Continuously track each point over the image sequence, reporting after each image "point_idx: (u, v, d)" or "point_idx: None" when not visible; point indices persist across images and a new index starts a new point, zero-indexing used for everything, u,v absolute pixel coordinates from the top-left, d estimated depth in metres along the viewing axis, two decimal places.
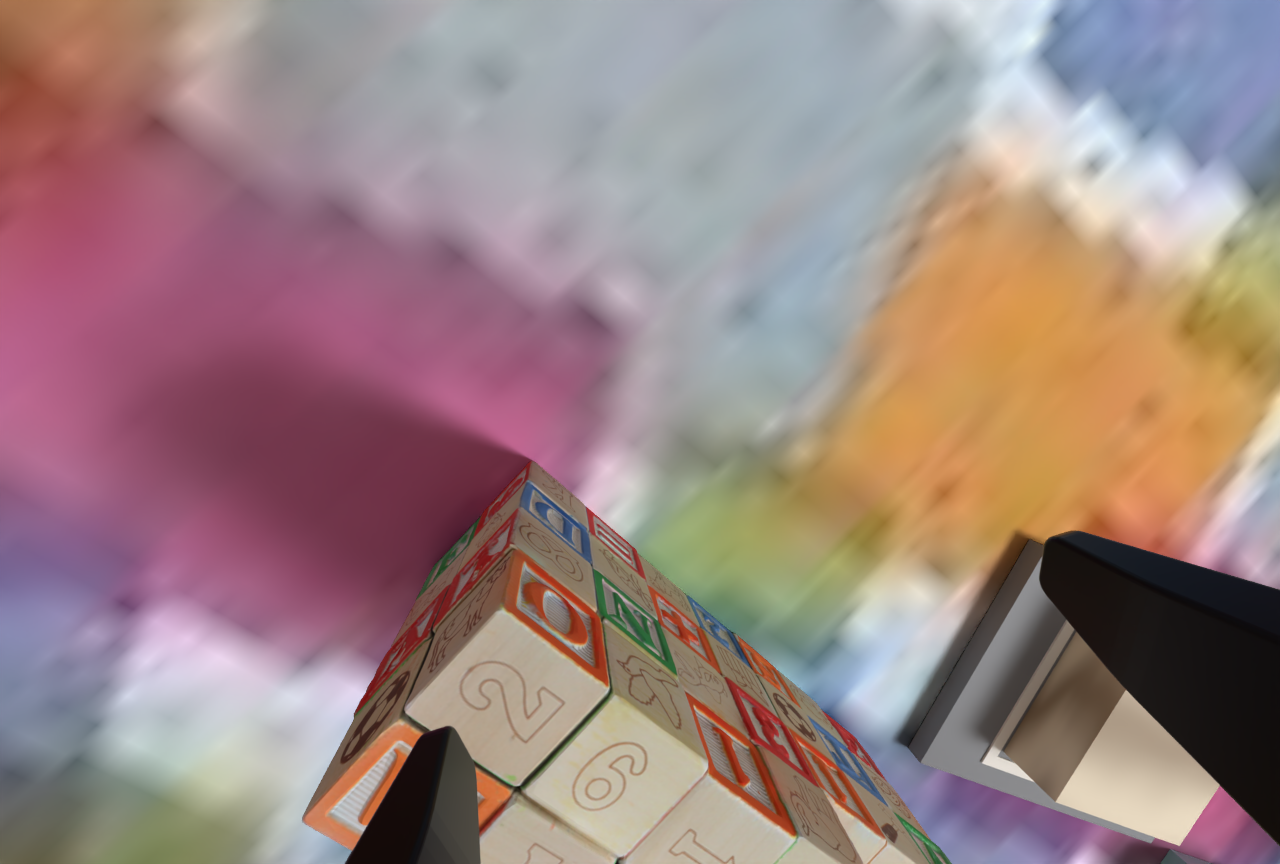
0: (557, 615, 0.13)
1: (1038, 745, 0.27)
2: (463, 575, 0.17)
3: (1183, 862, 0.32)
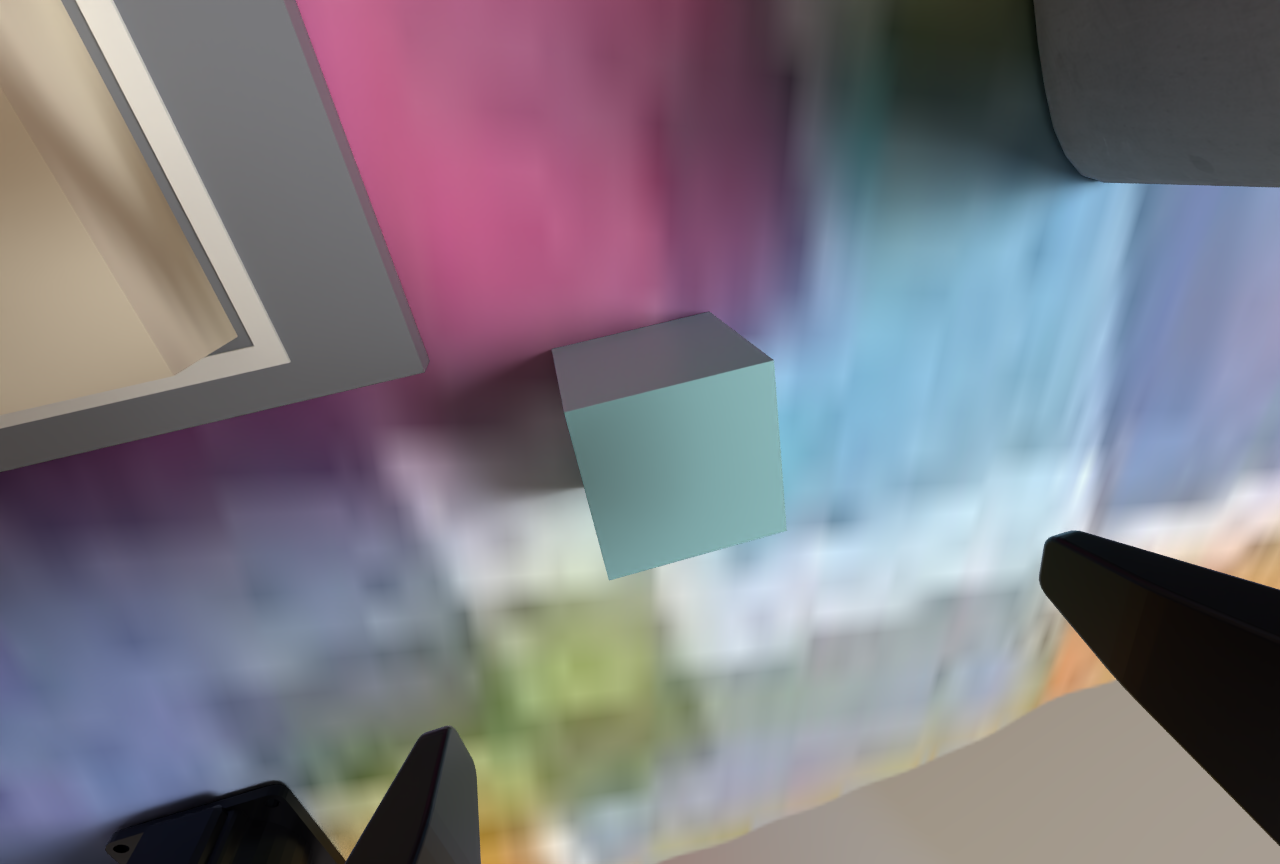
0: None
1: None
2: None
3: (554, 359, 0.16)
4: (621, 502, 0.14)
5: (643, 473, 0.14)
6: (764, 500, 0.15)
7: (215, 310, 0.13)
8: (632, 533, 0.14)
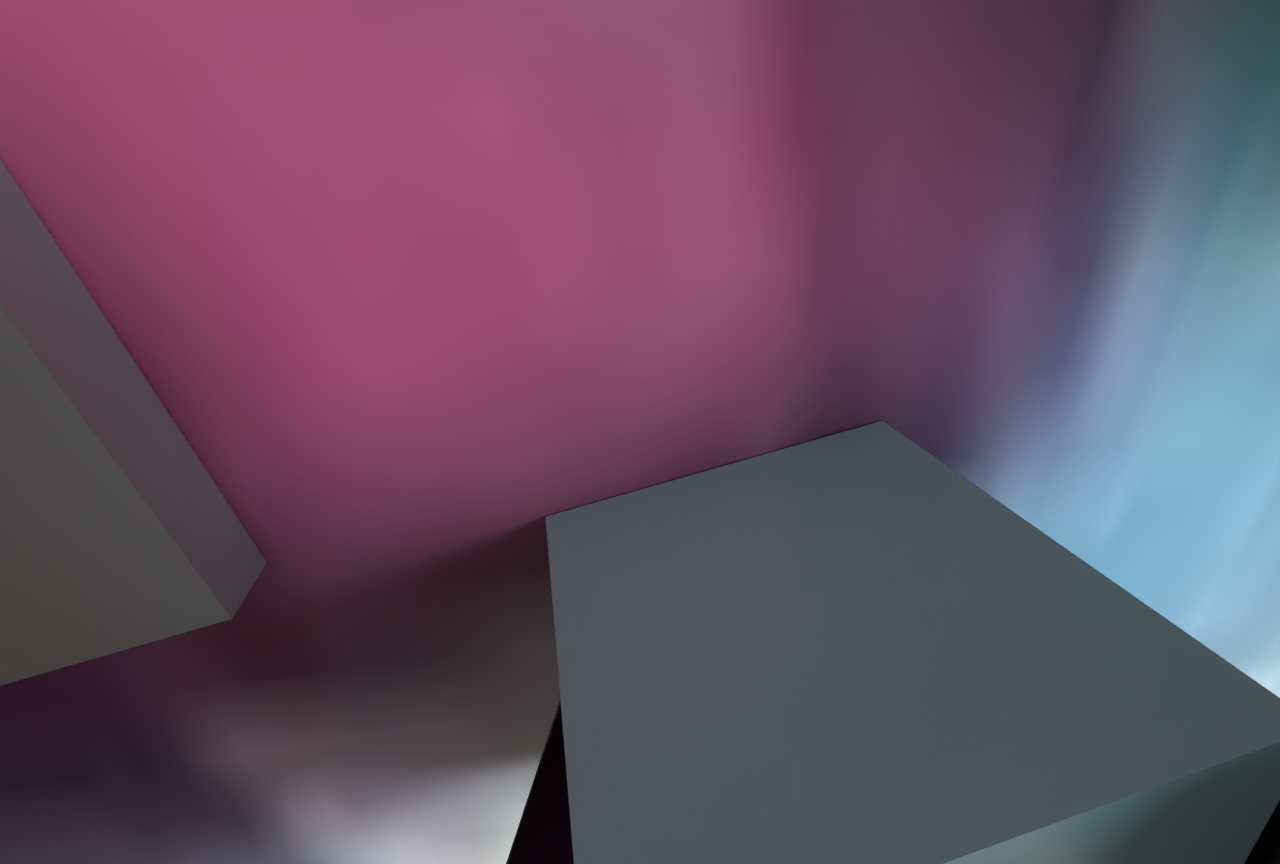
0: None
1: None
2: None
3: (551, 559, 0.07)
4: None
5: None
6: None
7: None
8: None
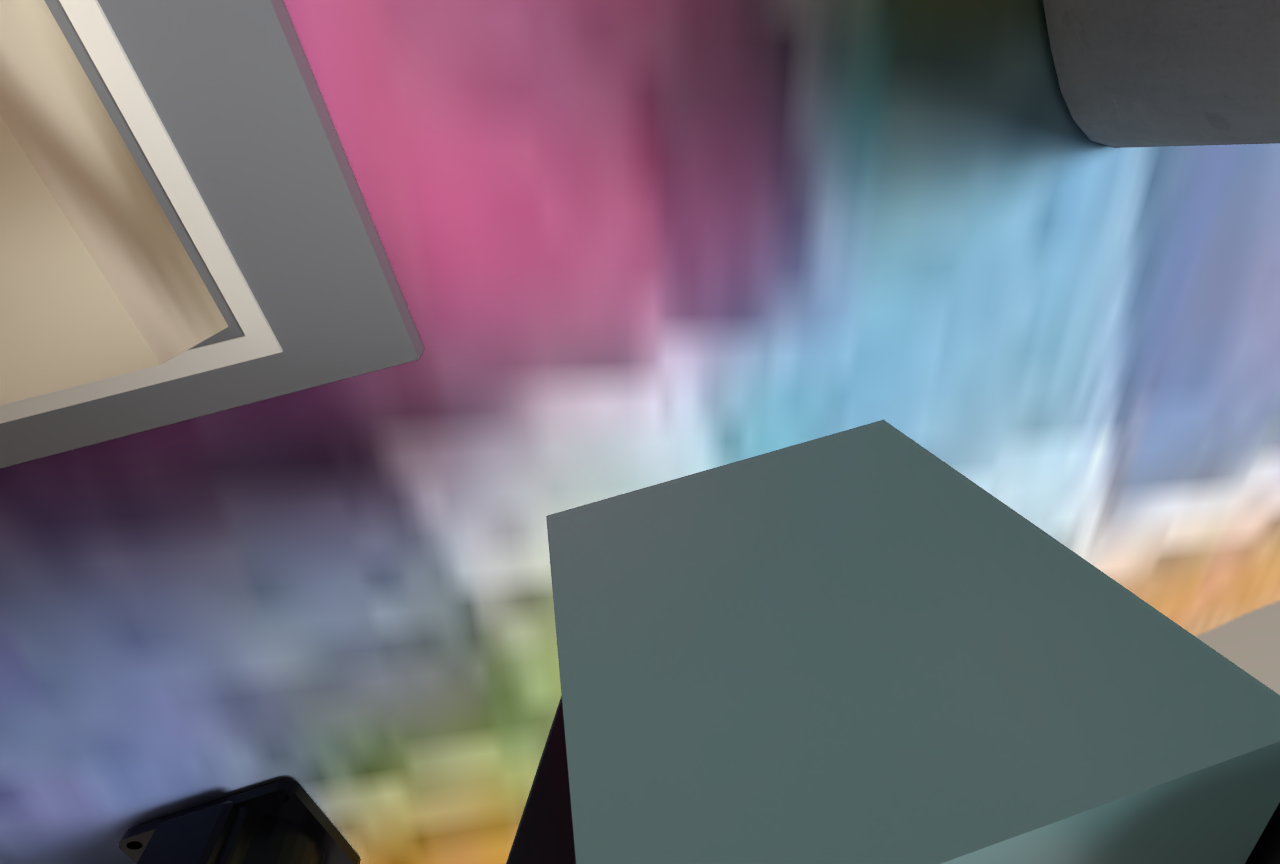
0: None
1: None
2: None
3: (552, 558, 0.07)
4: None
5: None
6: None
7: (204, 300, 0.13)
8: None
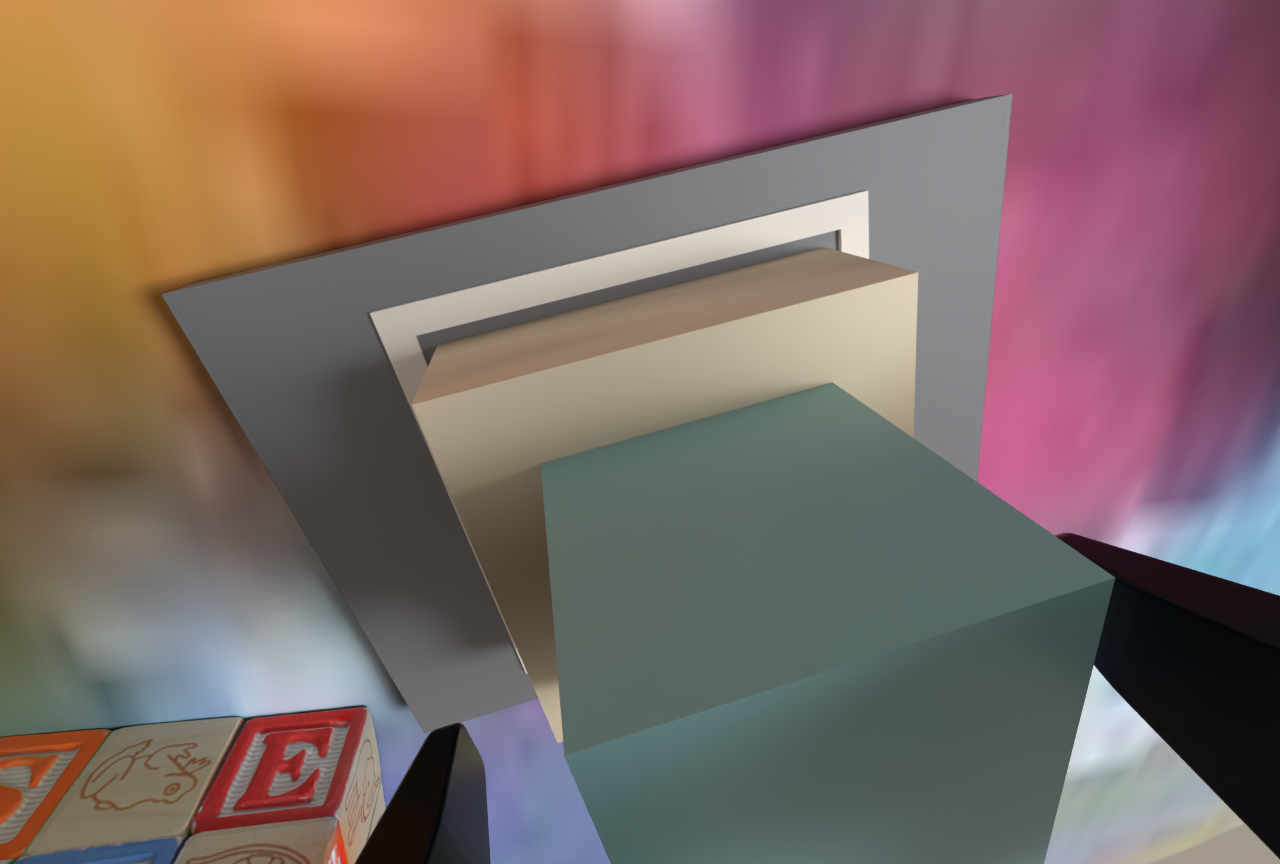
0: None
1: None
2: None
3: None
4: None
5: (763, 835, 0.06)
6: (1014, 831, 0.07)
7: None
8: None
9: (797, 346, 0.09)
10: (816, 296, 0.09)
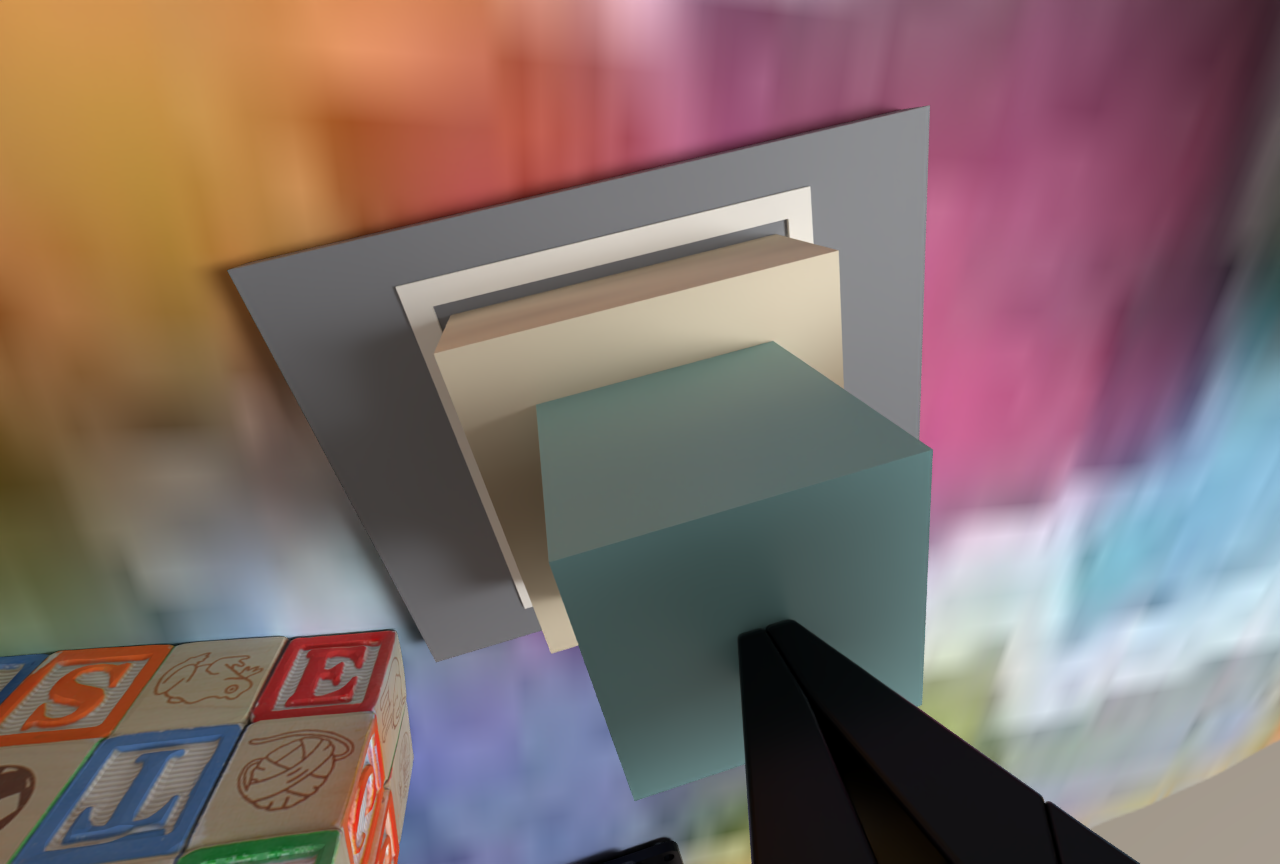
0: None
1: None
2: None
3: None
4: (655, 692, 0.08)
5: (694, 646, 0.08)
6: (892, 666, 0.09)
7: None
8: (674, 733, 0.08)
9: (742, 310, 0.11)
10: (757, 269, 0.11)
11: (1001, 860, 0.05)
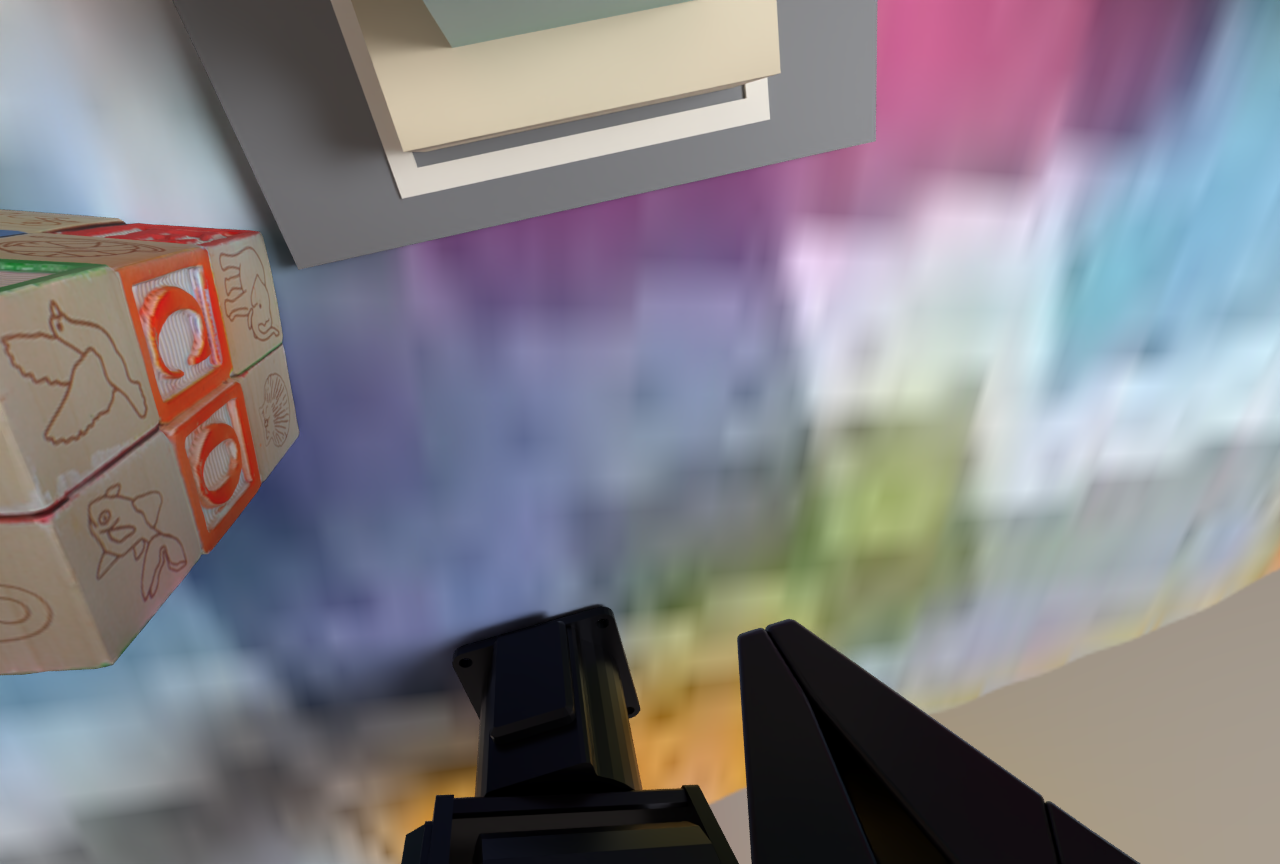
0: None
1: None
2: None
3: None
4: None
5: None
6: None
7: None
8: None
9: None
10: None
11: (1001, 859, 0.05)
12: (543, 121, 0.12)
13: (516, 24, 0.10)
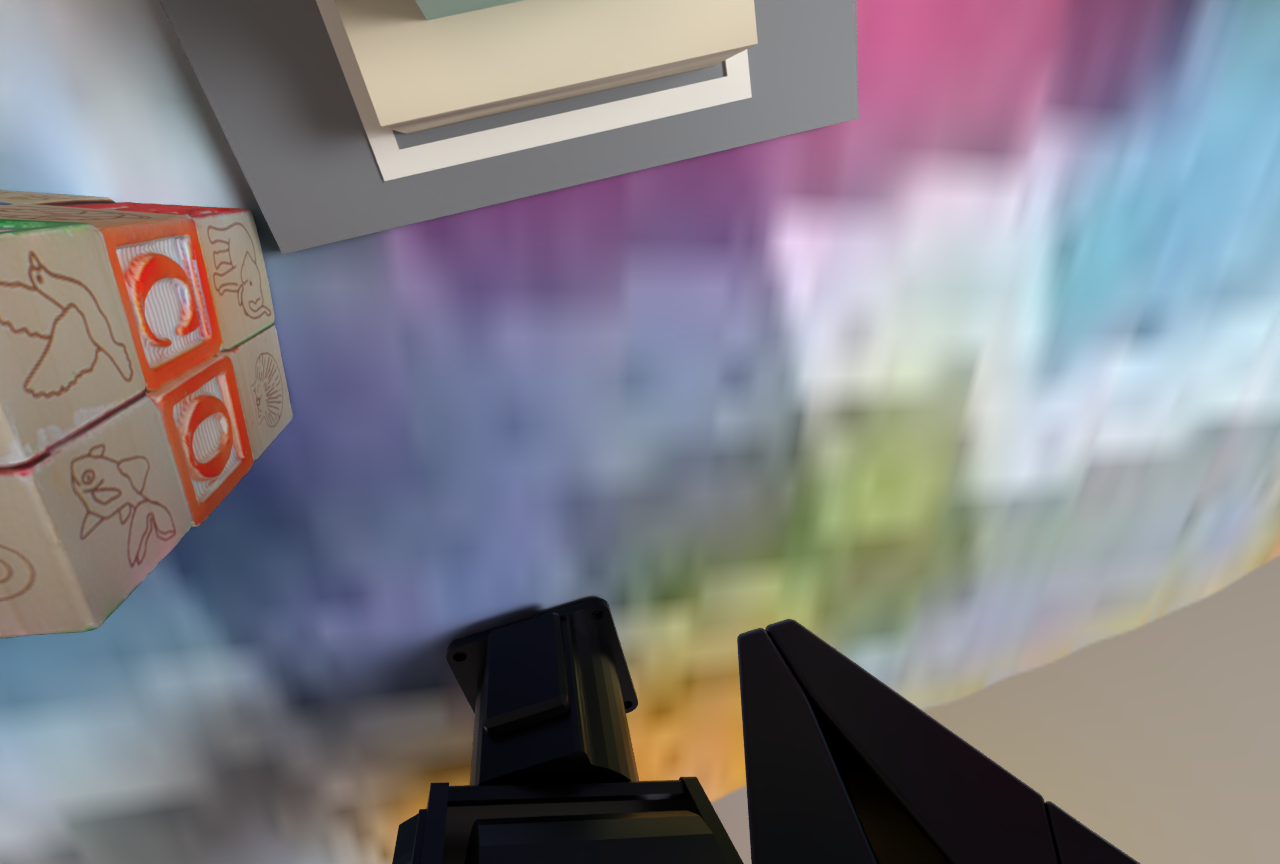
0: None
1: None
2: None
3: None
4: None
5: None
6: None
7: None
8: None
9: None
10: None
11: (1001, 859, 0.05)
12: (520, 94, 0.12)
13: None
